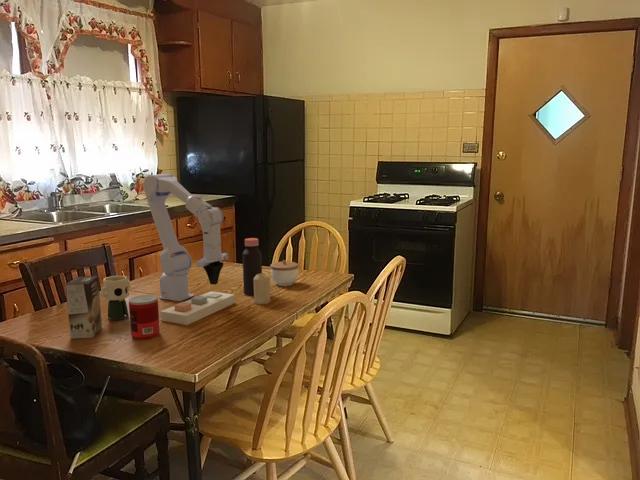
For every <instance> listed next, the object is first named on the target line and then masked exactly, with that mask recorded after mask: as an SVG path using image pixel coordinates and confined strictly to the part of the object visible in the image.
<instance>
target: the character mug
mask: <svg viewBox="0 0 640 480" xmlns="http://www.w3.org/2000/svg"><path fill="white" fill-rule="evenodd" d="M102 282H103V287H101V288H100V297H101V298H103V299H104V298H105V300H107V301H108V304H107V305H108V307H107V318H108V319H110V320H122V319H124V318H125V317H126V318H128V317H130V314H129V308H128V306H127V301H126V299H127V298H128V296H129V293H130V290H131V281H130V280H129V279H128V277H127V275H126V276H125V275H110V276H108V277H104V278H103V280H102Z"/></svg>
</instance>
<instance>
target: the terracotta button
mask: <svg viewBox="0 0 640 480" xmlns="http://www.w3.org/2000/svg"><path fill="white" fill-rule="evenodd" d="M173 306H175V311H179V312H186V311H188V310H191V303H186V302H185V301H180V302H179V303H176V304H174V305H173Z"/></svg>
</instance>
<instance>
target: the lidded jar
mask: <svg viewBox="0 0 640 480" xmlns="http://www.w3.org/2000/svg"><path fill="white" fill-rule="evenodd" d="M269 266H270V275H271V278H272V280H273V281H274V283H275V284H276V285H277V286H280V287H289V286H293V285H294V283H295V281H296V280H297V278H298V275H299V264H298V263H297V262H295V261H287V260H286V259H283V260H282V261H277V262H272V263H271V264H270V265H269Z"/></svg>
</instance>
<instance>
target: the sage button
mask: <svg viewBox="0 0 640 480" xmlns="http://www.w3.org/2000/svg"><path fill="white" fill-rule="evenodd" d="M221 296H222V294H216V293H212V294H210V295H208V296H207V298H214V299H216V298H219V297H221Z"/></svg>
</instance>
